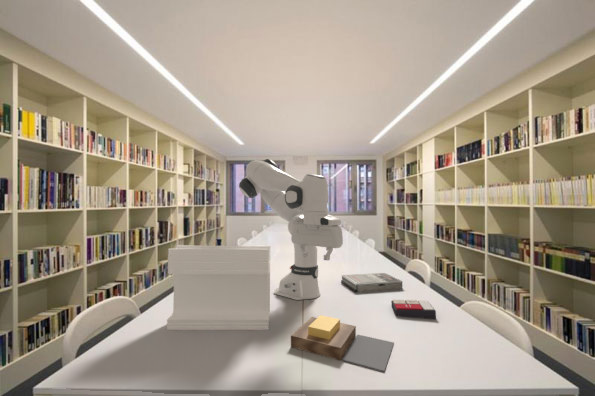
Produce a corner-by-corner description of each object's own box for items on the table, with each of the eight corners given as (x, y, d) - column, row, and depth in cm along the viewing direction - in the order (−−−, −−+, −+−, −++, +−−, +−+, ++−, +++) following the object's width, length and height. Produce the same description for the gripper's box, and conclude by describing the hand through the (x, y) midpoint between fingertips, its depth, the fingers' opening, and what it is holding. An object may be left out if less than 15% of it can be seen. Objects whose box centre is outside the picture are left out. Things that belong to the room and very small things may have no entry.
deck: (290, 346, 87) (290, 335, 87) (311, 326, 101) (311, 316, 101) (340, 360, 80) (340, 347, 80) (355, 336, 94) (355, 326, 94)
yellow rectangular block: (308, 334, 88) (308, 326, 88) (320, 322, 97) (320, 315, 97) (329, 339, 85) (329, 331, 85) (339, 326, 93) (340, 319, 94)
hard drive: (341, 283, 158) (341, 275, 158) (384, 280, 164) (384, 272, 165) (355, 293, 140) (355, 284, 140) (403, 290, 147) (403, 281, 147)
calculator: (391, 298, 122) (427, 299, 120) (391, 308, 122) (428, 309, 120) (395, 307, 111) (435, 308, 109) (395, 318, 111) (436, 320, 109)
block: (269, 320, 107) (270, 246, 107) (267, 329, 99) (268, 249, 99) (176, 320, 106) (177, 245, 106) (166, 329, 98) (168, 248, 98)
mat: (342, 360, 80) (342, 359, 80) (357, 335, 95) (357, 334, 95) (384, 372, 74) (384, 370, 74) (393, 343, 90) (393, 342, 90)
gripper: (287, 218, 104) (287, 256, 104) (335, 220, 92) (335, 263, 91) (298, 218, 109) (298, 253, 109) (344, 220, 96) (345, 260, 96)
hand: (315, 258), depth 100 cm, fingers open, 8 cm apart
